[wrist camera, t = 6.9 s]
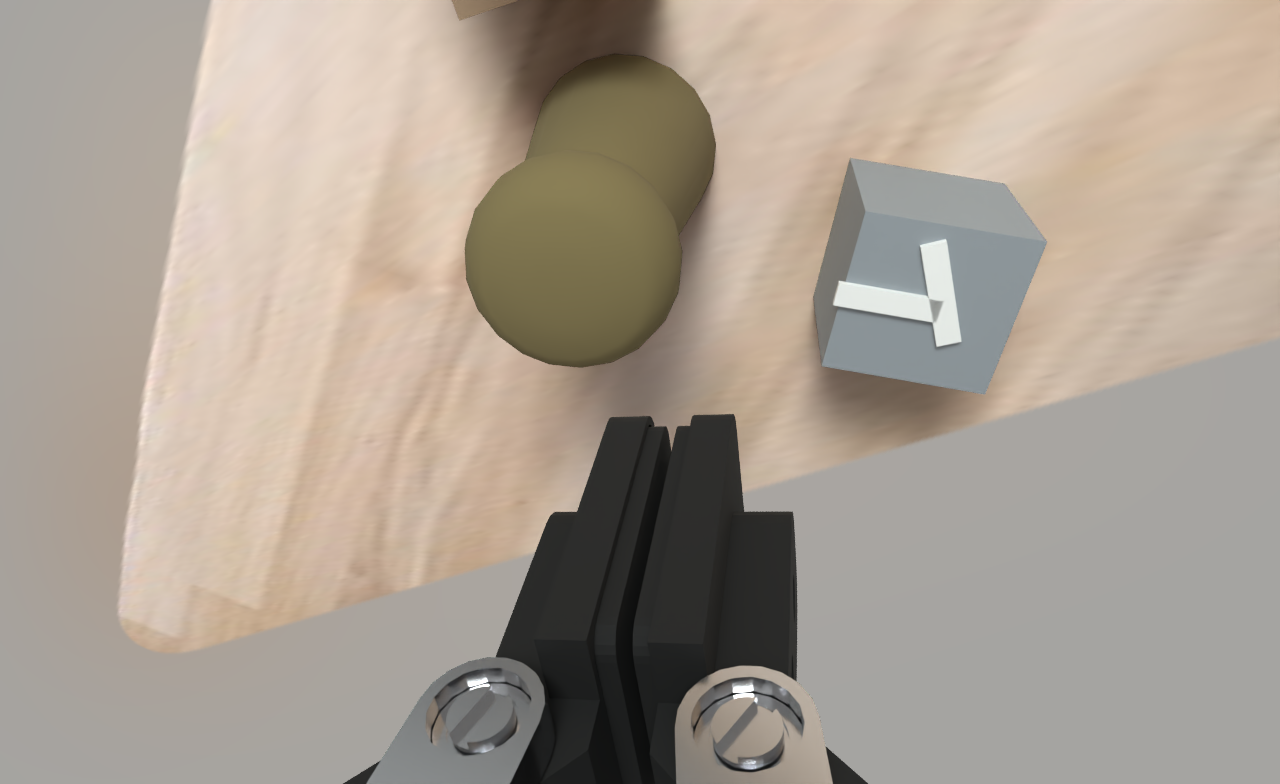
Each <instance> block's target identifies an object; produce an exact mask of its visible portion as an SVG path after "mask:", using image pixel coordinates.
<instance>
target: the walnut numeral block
mask: <svg viewBox="0 0 1280 784" xmlns="http://www.w3.org/2000/svg"><path fill="white" fill-rule="evenodd" d="M516 1H519V0H452V2H453V4H454V7H455V10H456V12H457V15H458V18H459V20H462V19H465V18H468V17H471V16H474V15H477V14H480V13H483V12H486V11H489V10H492V9H495V8H498V7H501V6H504V5H507V4H510V3H513V2H516Z"/></svg>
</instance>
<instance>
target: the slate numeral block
mask: <svg viewBox="0 0 1280 784" xmlns="http://www.w3.org/2000/svg"><path fill="white" fill-rule="evenodd" d="M1046 243H1047V241H1046V239H1045V238H1044V237H1043V235H1042V234H1041V233H1040V231H1039V230H1038V229H1037V227H1036V226H1035V224H1034V223H1033V222H1032V220H1031V219H1030V218H1029V216H1028V215H1027V213H1026V212H1025V211H1024V209H1023V208H1022V207H1021V205H1020V204H1019V203H1018V201H1017V200H1016V198H1015V197H1014V196H1013V194H1012V193H1011V192H1010V190H1009V189H1008V187H1007V186H1006V185H1005V184H1003V183H997V182H991V181H985V180H979V179H973V178H967V177H961V176H955V175H949V174H943V173H937V172H931V171H925V170H919V169H913V168H907V167H901V166H895V165H889V164H883V163H877V162H871V161H865V160H859V159H853V158H850V160H849V164H848V168H847V172H846V175H845V179H844V183H843V187H842V191H841V194H840V198H839V202H838V206H837V209H836V213H835V217H834V221H833V225H832V228H831V232H830V236H829V240H828V243H827V247H826V251H825V255H824V259H823V262H822V266H821V270H820V274H819V277H818V281H817V285H816V289H815V292H814V296H813V298H814V306H815V315H816V323H817V331H818V340H819V348H820V357H821V365H822V366H823V367H829V368H835V369H841V370H847V371H852V372H858V373H864V374H870V375H875V376H881V377H887V378H893V379H898V380H904V381H910V382H916V383H921V384H927V385H933V386H939V387H945V388H950V389H956V390H962V391H968V392H973V393H979V394H985V393H986V391H987V388H988V386H989V383H990V381H991V378H992V376H993V373H994V371H995V368H996V366H997V364H998V361H999V359H1000V356H1001V354H1002V351H1003V349H1004V346H1005V344H1006V342H1007V339H1008V337H1009V334H1010V332H1011V329H1012V327H1013V324H1014V322H1015V319H1016V317H1017V315H1018V312H1019V310H1020V307H1021V305H1022V302H1023V300H1024V297H1025V295H1026V292H1027V290H1028V288H1029V285H1030V283H1031V280H1032V278H1033V275H1034V273H1035V270H1036V268H1037V265H1038V263H1039V261H1040V258H1041V256H1042V253H1043V251H1044V248H1045V246H1046Z"/></svg>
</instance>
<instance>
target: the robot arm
mask: <svg viewBox="0 0 1280 784" xmlns="http://www.w3.org/2000/svg"><path fill="white" fill-rule="evenodd" d="M796 669H797V576H796V551H795V532H794V518H793V512H744V506H743V495H742V484H741V473H740V462H739V451H738V440H737V429H736V420H735V416H734V414H725V415H694V416H693V417H692V420H691V425H690V426H678V427H677V430H676V434H675V438H674V443H673V447H672V452H671V447H670V440H669V433H668V430H667V427H654V422H653V420H652V418H651V417H650V416H642V417H611V418H610V419H609V421H608V423H607V426H606V429H605V432H604V434H603V437H602V440H601V443H600V446H599V449H598V452H597V455H596V458H595V461H594V464H593V467H592V470H591V473H590V476H589V478H588V481H587V484H586V487H585V490H584V493H583V496H582V499H581V502H580V505H579V508H578V511H577V512H555V513H553V514H552V515H551V516H550V518H549V519H548V521H547V523H546V526H545V529H544V531H543V534H542V536H541V539H540V542H539V544H538V547H537V550H536V552H535V555H534V558H533V560H532V563H531V565H530V568H529V571H528V573H527V576H526V578H525V581H524V584H523V586H522V589H521V592H520V594H519V597H518V599H517V602H516V605H515V607H514V610H513V613H512V615H511V618H510V621H509V623H508V626H507V628H506V632H505V634H504V636H503V639H502V642H501V644H500V647H499V649H498V652H497V655H496V657H487V658H482V659H478V660H473V661H468V662H466V663H464V664H462V665H460V666H457V667H455V668H453V669H451V670H449V671H448V672H446V673H445V674H444V675H442V676H441V677H440V678H438V679H437V680H436V681H434V682H433V683H432V684H431V685H430V687H429V688H428V689H427V690H426V691H425V693H424V694H423V695H422V696H421V698H420V699H419V700H418V702H417V704H416V705H415V707H414V709H413V710H412V712H411V713H410V715H409V716H408V718H407V720H406V721H405V723H404V724H403V726H402V728H401V729H400V731H399V732H398V734H397V736H396V737H395V739H394V740H393V742H392V744H391V745H390V747H389V748H388V750H387V751H386V753H385V755H384V756H383V758H382V759H381V761H379V762H378V763H376V764H374V765H373V766H371V767H369V768H368V769H366V770H365V771H363V772H361V773H360V774H358V775H357V776H355V777H353V778H352V779H350V780H348V781H347V782H345V783H343V784H868V783H867V782H865V781H864V780H863V779H862V778H861V777H860V776H859V775H858V774H856V773H855V772H854V771H853V770H852V769H851V768H850V767H848V766H847V765H846V764H845V763H844V762H843V761H841V760H840V759H839V758H838V757H837V756H836V755H835V754H834V753H832V752H831V751H830V750H829V749H828V748H827V747H826V746H825V741H824V737H823V731H822V726H821V721H820V716H819V714H818V711H817V709H816V706H815V704H814V701H813V699H812V697H811V696H810V695H809V694H808V693H807V692H806V690H805V689H804V688H803V687H802V686H801V685H800V683H798V682H796V677H797V676H796V675H797V674H796V673H797V672H796V671H797V670H796Z"/></svg>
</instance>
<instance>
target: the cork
mask: <svg viewBox="0 0 1280 784" xmlns="http://www.w3.org/2000/svg"><path fill="white" fill-rule="evenodd" d="M715 148H716V142H715V138H714V133H713V129H712V124H711V119H710V115H709V113H708V112H707V110H706V108H705V106H704V105H703V103H702V101H701V100H700V98H699V96H698V94H697V93H696V91H695V89H694V88H693V87H691V86H690V85H689V84H688V83H687V82H686V81H685V80H684V79H683V78H681V77H680V76H679V75H678V74H677V73H676V72H675V71H674V70H672V69H671V68H669V67H666V66H664V65H662V64H660V63H657V62H655V61H653V60H650V59H648V58H646V57H643V56H631V55H619V54H612V55H608V56H604V57H600V58H596V59H592V60H588V61H585V62H583V63H582V64H580V65H579V66H577V67H576V68H574V69H573V70H571V71H570V72H568V73H567V74H565V75H564V76H562V77H561V78H560V79H559V81H558V82H557V83H556V85H555V86H554V87H553V89H552V90H551V91H550V93H549V94H548V95H547V97H546V98H545V99H544V101H543V104H542V107H541V110H540V113H539V116H538V120H537V123H536V126H535V129H534V132H533V136H532V139H531V142H530V146H529V149H528V152H527V156H526V159H525V161H524V162H523V163H521V164H519V165H518V166H516V167H515V168H513V169H512V170H510V171H508V172H507V173H505V174H504V175H502V176H501V177H500V178H499V179H498V180H497V181H496V183H495V184H494V185H493V186H492V188H491V189H490V190H489V192H488V193H487V194H486V196H485V197H484V198H483V200H482V201H481V202H480V204H479V205H478V206H477V208H476V209H475V211H474V214H473V218H472V221H471V225H470V228H469V231H468V235H467V238H466V244H465V262H466V281H467V283H468V286H469V288H470V291H471V293H472V296H473V299H474V301H475V304H476V306H477V309H478V310H479V312H480V313H481V314H482V315H483V317H484V318H485V319H486V321H487V322H488V323H489V325H490V326H491V327H492V328H493V330H494V331H495V332H496V334H497V335H498V336H499V337H501V338H502V339H503V340H505V341H506V342H508V343H509V344H510V345H512V346H513V347H514V348H516V349H517V350H518V351H520V352H521V353H522V354H525V355H527V356H530V357H532V358H535V359H537V360H540V361H542V362H545V363H548V364H552V365H561V366H570V367H588V366H594V365H599V364H605V363H611V362H614V361H616V360H617V359H619V358H621V357H623V356H625V355H627V354H629V353H631V352H633V351H635V350H637V349H639V348H640V347H641V346H642V344H643V343H644V342H645V341H646V340H647V339H648V338H649V337H650V336H651V335H652V334H653V333H654V332H655V331H656V330H657V329H658V328H659V327H660V326H661V325H662V324H663V322H664V321H665V320H666V318H667V316H668V313H669V311H670V309H671V307H672V305H673V303H674V300H675V298H676V296H677V294H678V290H679V283H680V272H681V261H682V248H681V244H680V240H679V234H680V232H681V231H682V229H683V228H684V226H685V224H686V223H687V221H688V219H689V218H690V216H691V214H692V213H693V211H694V210H695V208H696V206H697V205H698V203H699V201H700V200H701V198H702V196H703V194H704V191H705V189H706V187H707V185H708V183H709V180H710V178H711V176H712V174H713V167H714V157H715Z"/></svg>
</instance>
